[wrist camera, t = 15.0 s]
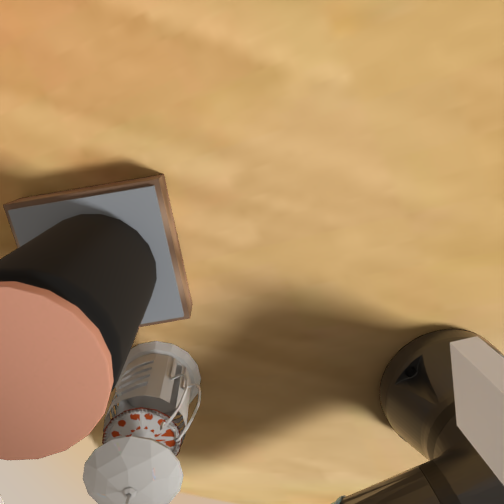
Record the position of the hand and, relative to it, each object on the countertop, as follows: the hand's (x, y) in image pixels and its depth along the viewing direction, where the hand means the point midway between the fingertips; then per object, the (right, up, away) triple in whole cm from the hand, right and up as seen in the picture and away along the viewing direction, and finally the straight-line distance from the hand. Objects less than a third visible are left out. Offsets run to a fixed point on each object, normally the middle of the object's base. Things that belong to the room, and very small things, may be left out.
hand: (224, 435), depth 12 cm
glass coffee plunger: (-9, -9, +36) cm, 39 cm away
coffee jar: (-13, +4, +28) cm, 31 cm away
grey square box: (-14, +5, +31) cm, 35 cm away
